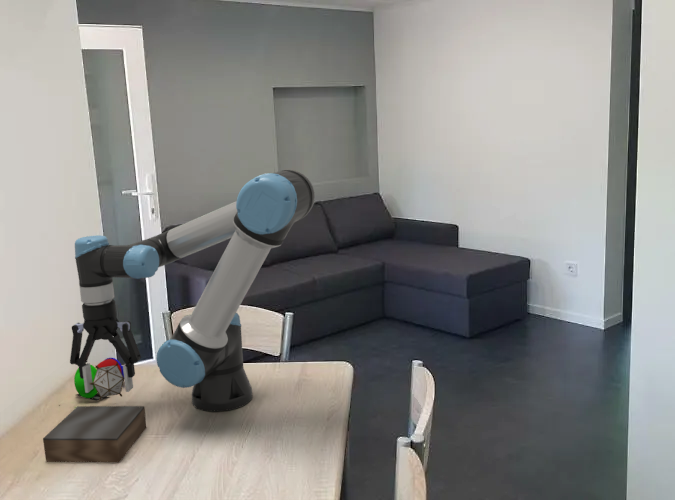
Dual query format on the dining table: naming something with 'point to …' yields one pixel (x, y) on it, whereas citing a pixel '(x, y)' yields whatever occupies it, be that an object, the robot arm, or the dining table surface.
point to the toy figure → (80, 382)
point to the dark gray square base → (95, 434)
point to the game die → (108, 381)
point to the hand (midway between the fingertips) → (109, 390)
